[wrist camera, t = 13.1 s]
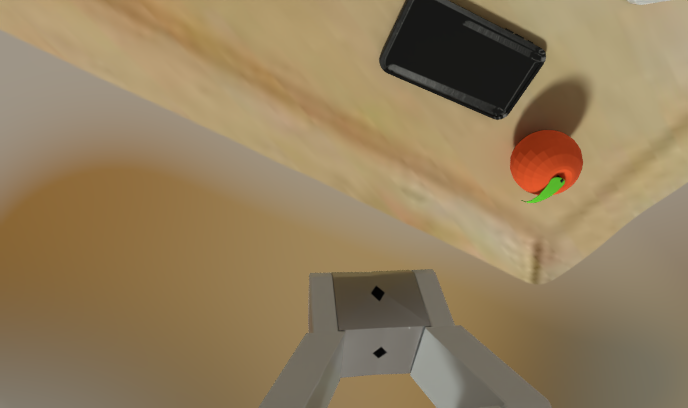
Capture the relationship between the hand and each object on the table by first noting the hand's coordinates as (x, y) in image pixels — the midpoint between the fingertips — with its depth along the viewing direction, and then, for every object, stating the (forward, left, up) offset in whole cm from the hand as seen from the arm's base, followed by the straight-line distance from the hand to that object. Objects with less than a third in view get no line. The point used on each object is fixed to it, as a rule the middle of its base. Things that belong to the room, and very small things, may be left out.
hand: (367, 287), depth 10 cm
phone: (-13, +4, -34) cm, 36 cm away
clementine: (-23, +14, -33) cm, 43 cm away
